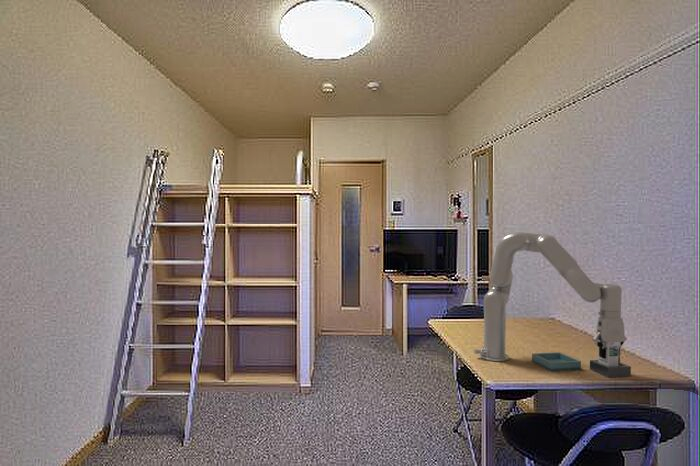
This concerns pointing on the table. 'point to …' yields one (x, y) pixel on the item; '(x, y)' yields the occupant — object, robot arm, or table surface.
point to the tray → (556, 361)
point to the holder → (610, 369)
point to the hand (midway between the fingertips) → (609, 356)
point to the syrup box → (611, 354)
